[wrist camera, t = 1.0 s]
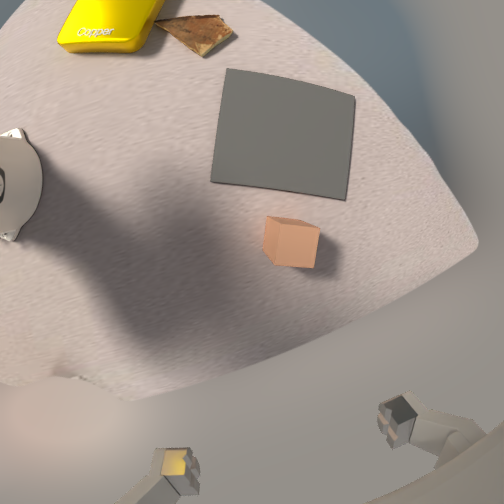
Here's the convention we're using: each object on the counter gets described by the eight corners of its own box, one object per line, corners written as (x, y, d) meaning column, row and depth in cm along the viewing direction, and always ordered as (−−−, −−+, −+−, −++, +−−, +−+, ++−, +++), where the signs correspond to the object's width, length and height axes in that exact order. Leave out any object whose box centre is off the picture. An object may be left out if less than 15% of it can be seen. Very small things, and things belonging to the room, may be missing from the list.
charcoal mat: (210, 181, 38) (210, 181, 38) (226, 69, 35) (226, 68, 34) (343, 199, 42) (344, 199, 41) (353, 97, 38) (354, 96, 38)
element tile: (63, 54, 30) (51, 44, 25) (97, -11, 27) (89, -24, 22) (141, 54, 32) (134, 41, 28) (172, -12, 30) (170, -28, 25)
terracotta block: (262, 250, 42) (274, 265, 34) (266, 216, 41) (280, 223, 33) (295, 253, 43) (313, 268, 35) (300, 220, 42) (320, 228, 34)
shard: (154, 25, 31) (152, 20, 30) (191, -1, 31) (190, -6, 29) (200, 60, 34) (200, 55, 32) (237, 33, 34) (238, 27, 32)
